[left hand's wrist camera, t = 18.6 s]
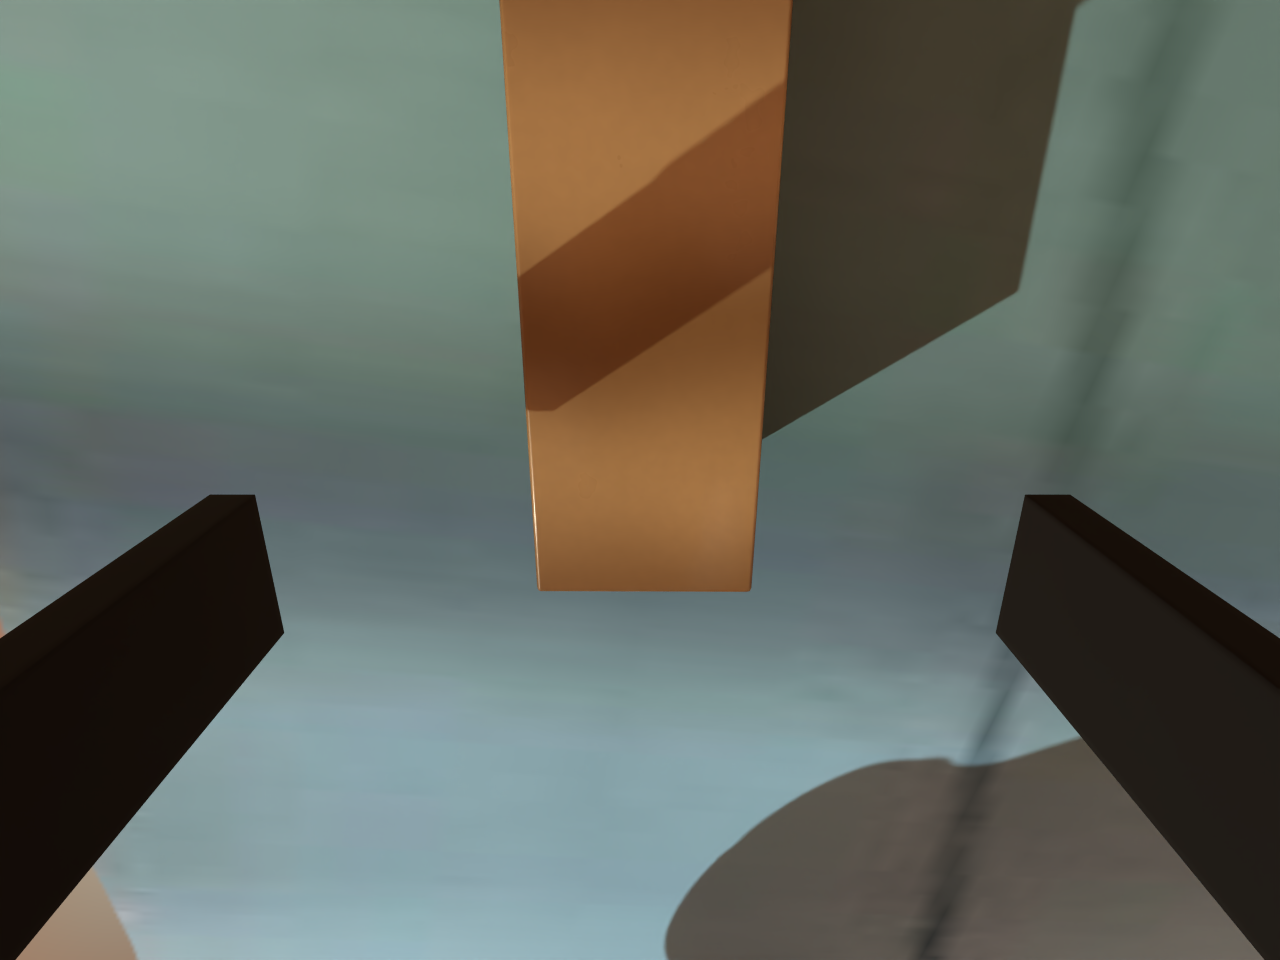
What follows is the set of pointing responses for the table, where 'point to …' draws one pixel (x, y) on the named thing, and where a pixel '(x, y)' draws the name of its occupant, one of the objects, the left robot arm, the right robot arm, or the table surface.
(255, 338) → the table surface
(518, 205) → the bar
